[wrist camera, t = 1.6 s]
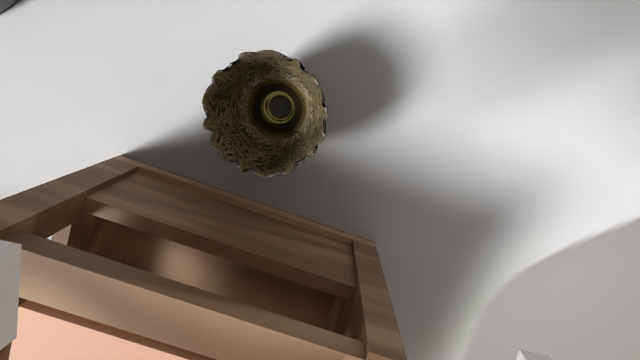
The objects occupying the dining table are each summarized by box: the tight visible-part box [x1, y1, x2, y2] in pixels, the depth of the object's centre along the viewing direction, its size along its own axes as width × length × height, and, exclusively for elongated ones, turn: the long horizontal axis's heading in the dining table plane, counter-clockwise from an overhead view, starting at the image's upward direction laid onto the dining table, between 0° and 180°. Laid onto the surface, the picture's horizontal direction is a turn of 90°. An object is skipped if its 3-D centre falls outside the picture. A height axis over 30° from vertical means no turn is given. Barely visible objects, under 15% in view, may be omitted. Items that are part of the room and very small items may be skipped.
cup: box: [202, 50, 328, 178], centre depth 28 cm, size 8×7×8 cm
